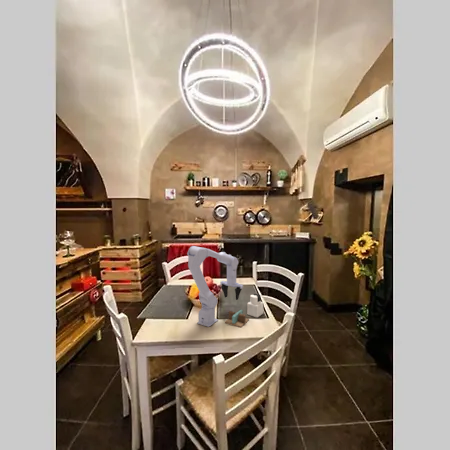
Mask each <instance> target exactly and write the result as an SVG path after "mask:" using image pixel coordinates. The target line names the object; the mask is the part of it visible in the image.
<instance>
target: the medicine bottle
mask: <svg viewBox="0 0 450 450" xmlns="http://www.w3.org/2000/svg"><path fill="white" fill-rule="evenodd" d="M249 296H250V299H249V300H250V301H248V302H247V305H246V307H247V308H246V310H247V311H246V313H247V314H246V315H248V316H251V317H254V318H260V317H261V316H262V315H264V301H261V297H262V296H261V295H260V294H259V293H252V294H250V295H249Z"/></svg>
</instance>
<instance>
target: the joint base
mask: <svg viewBox="0 0 450 450" xmlns="http://www.w3.org/2000/svg"><path fill="white" fill-rule="evenodd" d="M235 313H236V311H232V310H229V311H228V319H227V320H225V321H224V324H226V325H227V324H228V325H231V326H233V327H236V328H237V327H238V328H242V327H244V326H245V324H247V322H249V320H250V318H247V316H246V315H247V314H245V313H243V314H239V317H238V321H237V322H236V323H235V324H233V323H232V316H233V315H234V314H235Z"/></svg>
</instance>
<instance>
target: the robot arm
mask: <svg viewBox="0 0 450 450" xmlns="http://www.w3.org/2000/svg"><path fill="white" fill-rule="evenodd" d="M186 254H187V256H188V258H187V259H188V260H187V261H188V263H187V267H188V270H189V271H190V274H191V276H192V278H193V280H194V283H195V285H196V287H197V289H198V291H199V293H198V298H199V302H200V303H201V309H200V310H198V316H197V317H198V322H197V323H196V324H198V325H202V326H205V327H210V326H212V325H213V324H215V323H216V322H218V321H219V319H217V318H216V306H217V305H218V298H217V297H216V296H215V294H214V293H213V292H212V291H211V290H210V288H209V285H208V283H207V281H206V279H205V276H204V275H203V272H202V269H201V265H202V263H203V262H204V261H205V259H206V258H209V257H211V258H215V259H216V260H217V262H219V263H222V264H224V265H225V266H226V281H224V280H221V281H220V288H221V290H222V292H223V295H224V298H226V299H227V298H228V293H229V292H228V289H229V287H231V288H234V292H235V300H236V301H237V300H239V299H240V298H239V297H240V294H241V292H242V289H243V288H244V284H241V283H239V282H237V269H238V265H239V263H240V262H239V260H238V258H237V257H236V256H232V254H230V253H229V254H227V253H226V252H225V251H221V252H216V251H214V250H212V249H210V248H206V247H200V246H196V245H191V246H190V247H189V248H188V251H187V253H186Z"/></svg>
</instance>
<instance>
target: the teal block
mask: <svg viewBox="0 0 450 450" xmlns="http://www.w3.org/2000/svg"><path fill="white" fill-rule="evenodd" d="M243 312H244V310H243V309H239V310H238V311H237V312H235V314H234V315H233V316H232V323H233V324H235V323H236V322H237V321H238V317H239V314H244V313H243Z"/></svg>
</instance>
